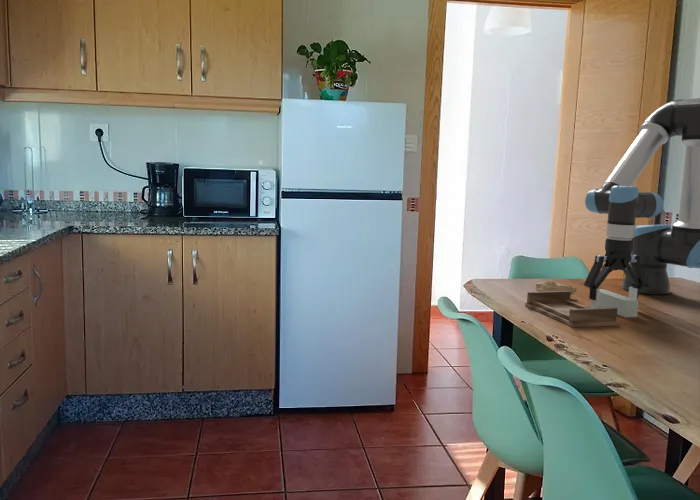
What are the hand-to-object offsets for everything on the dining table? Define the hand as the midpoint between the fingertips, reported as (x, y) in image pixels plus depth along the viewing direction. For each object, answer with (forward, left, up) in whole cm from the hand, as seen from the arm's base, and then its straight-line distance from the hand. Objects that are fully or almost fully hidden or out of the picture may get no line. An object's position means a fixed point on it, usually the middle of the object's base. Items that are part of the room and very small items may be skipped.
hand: (612, 309), depth 184 cm
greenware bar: (0, 0, 0) cm, 0 cm away
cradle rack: (+17, +3, 0) cm, 17 cm away
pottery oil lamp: (+8, -18, 0) cm, 20 cm away
